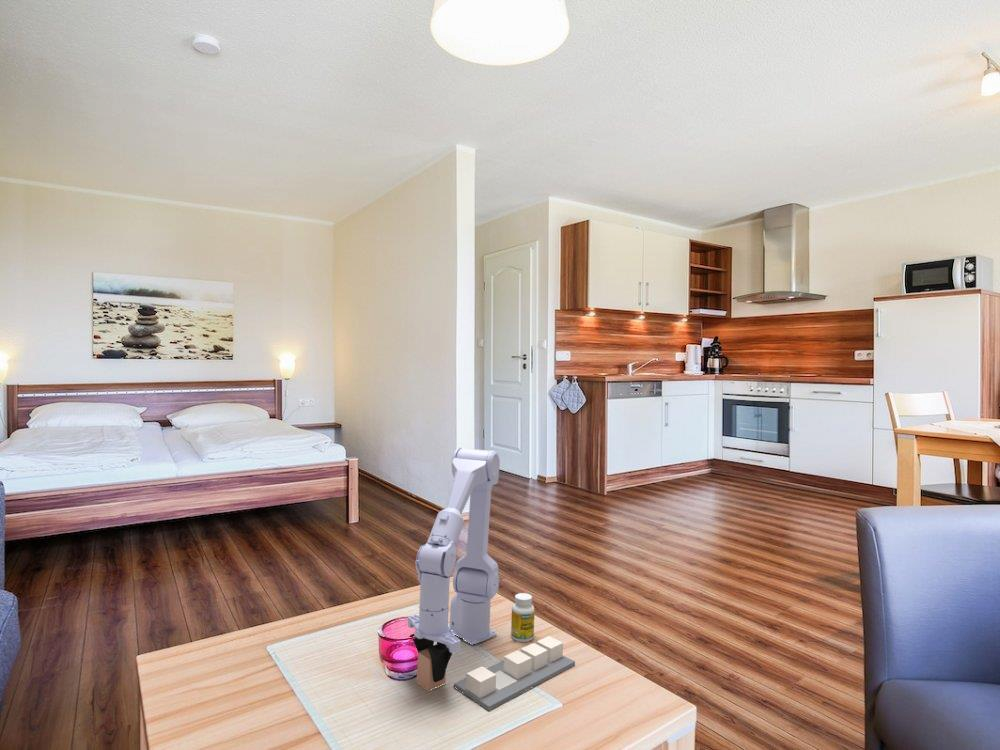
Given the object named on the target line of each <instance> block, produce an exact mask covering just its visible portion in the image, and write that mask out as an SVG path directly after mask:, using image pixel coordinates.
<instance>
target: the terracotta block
mask: <svg viewBox="0 0 1000 750" xmlns="http://www.w3.org/2000/svg"><path fill="white" fill-rule="evenodd" d="M416 671H417V672H416V683H417V685H419V686H420V687H421V688H423V687H424V690H425V691H427V692H431V691H432V690H431V689H433V688H435V687H438V686H440V685H442V684H444V683H445V684H446V681H447V678H446V677H447V671H446V672H445V675H444V679H442V680H440V681H438V682H434V681H433V675H432V661H431V656H430V653H429V651H428V648H427V649H425V650H422V651H420V652H418V662H417V670H416ZM442 686H443V685H442ZM440 687H441V686H440ZM438 688H439V687H438ZM430 690H431V691H430Z"/></svg>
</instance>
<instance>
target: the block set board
mask: <svg viewBox="0 0 1000 750" xmlns="http://www.w3.org/2000/svg"><path fill="white" fill-rule="evenodd" d="M575 665H576V661H575V660H573V659H571V658H569V657H567V656H566V655H564V642H562V641H560V640H559V639H556V638H554V637H552V636H550V635H548V636H545V637H544V638H541V639H539V640H537V641H536V642H533V643H530V644H528V645H526V646H524V647H522V648H520V650H515V651H513V652H511V653H509V654H506V655H504V656H503V660H501V661H499V662H497V663H495V664H492V665H491V666H489V667H487V668H486V667H484V666H479V667H478V668H475V669H473V670H471V671H469V672H467V673H466V677H464V678H463V679H461V680H458V681H456V682H454V683H453V688H454V687H456V688H457V689H458V690H457V689H456V688H455V689H456V690H457V691H458V692H460V691H461V692H463V693H464V694H465V695H464V694H463V693H462V694H463V695H464V696H466V695H467V696H468V697H467V696H466V697H467V698H469V697H470V698H471V699H470V698H469V699H470V700H472V699H473V700H474V702H475V701H476V702H477V703H476V702H475V703H476V704H478V703H479V704H480V705H479V704H478V705H479V706H480V707H482V706H483V707H482V708H483V709H484V710H486V711H488V712H490V711H492V710H493V708H494V709H495V707H496V708H498V707H499V706H501V705H503V704H505V703H507V702H509V701H510V700H512V699H514V698H516V697H518V696H519V695H522V694H523V692H524V693H526V692H527V691H529V690H531V689H532V688H531V687H533V688H535V687H537V686H539V685H540V684H543V683H545V682H547V681H548V680H550V679H552V678H553V677H555V676H558V675H559V674H561V673H563V672H565V671H567V670H569V669H570V668H573V667H575ZM534 686H535V687H534ZM530 688H531V689H530ZM528 689H529V690H528ZM526 690H527V691H526ZM525 691H526V692H525ZM461 692H460V693H461ZM473 700H472V701H473Z"/></svg>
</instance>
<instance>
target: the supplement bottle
mask: <svg viewBox="0 0 1000 750" xmlns="http://www.w3.org/2000/svg"><path fill="white" fill-rule="evenodd" d="M514 602H515V603H513V604H512V605H511V606H512V607H511V622H510V623H511V626H510V627H511V628H510V631H511V633H510V636H511V638H512V639H513V640H514V641H515V642H519V643H520V642H521V643H524V642H525V643H526V642H530V641H532V640H533V639H534V636H535V635H534V632H535V612H536V611H535V609H536V608H535V606H534V605H533V604H532V603H533V596H532V595H531V594H529V593H525V592H519V593H516V594H515V595H514Z"/></svg>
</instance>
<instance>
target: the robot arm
mask: <svg viewBox="0 0 1000 750" xmlns="http://www.w3.org/2000/svg"><path fill="white" fill-rule="evenodd" d="M450 462H451V463H450V464H451V472H452V477H453V479H452V482H451V483H452V484H451V487H450V491H449V494H448V499H447V501H446V504H445V508H444V509H442V510H440V511H439V512H437V515H436V518H435V520H434V523H433V526H432V528H431V532H430V534H429V537H428V539H427V542H426V543H425V544H423V545H421V546H420V547H419V549H418V551H417V554H416V557H415V559H416V560H415V562H414V564H415V570H416V572H417V581H418V582H419V612H418V614H414V615H411V616H408V617H407V627H408V628H410V629H411V628H413V629H414V630H415V632H414V633H411V634H410V635H409V636H408V637H413V636H415V637H417V638H415V639H413V641H414V643H415V645H416V648H417V650H418V652H420V651H422V650H425V649H427V648H428V651H429V653H430V656H431V661H432V675H433V681H434V682H438V681H440V680H442V679H444V675H445V672H446V673H447V668H448V666H449V662H450V659H451V658H452V656H453V654H455V653H457V652H459V651H461V643H462V642H461V641H462V639H460V638H459V637H461V638H464V640H466V641H468V642H469V643H471V644H475V645H477V644H479V643H481V642H484V641H487V640H489V639H491V638H493V637H496V636H498V632H496V631H495V630H492V629H490V628H491V627H490V626H491V624H490V623H491V622H490V621H491V602H492V601H491V600H493V599H494V597H495V596H496V595H497V593H498V591H499V585H500V576H499V564H498V563H497V561H496V560H494V559H493V558H492V557H491V556H490V555H489V554H488V548H489V547H488V546H489V530H490V517H491V516H490V515H491V502H492V501H491V500H492V498H491V497H492V489H493V486H494V485H498V484H499V479H500V466H501V465H500V463H501V461H500V456H499V454H498V453H497V451H496V450H494V449H493V450H483V449H473V448H472V449H471V448H463V447H457V448H456V449H455V450H454V452H453V453H452V456H451V461H450ZM468 500H469V508H468V509H469V512H468V526H467V527H468V528H467V538H466V539H467V540H466V542H467V543H466V554H464V555H463V556H461V557H460V558H459V559H458V560H457V553H458V547H457V544H458V541H459V538H460V535H461V532H462V530H463V527H464V524H465V523H464V522H465V520H464V517H463V516H462V513H463V511H464V509H465V507H466V505H467V503H468ZM456 560H457V561H456ZM453 571H454V573H453ZM452 573H453V577H452V588H453V590H454V592H455V594H454V595H453V596H452V599H451V600H450V582H451V575H452ZM449 602H450V603H449ZM449 605H450V606H449ZM449 607H450V611H449ZM451 630H453V631H451ZM453 633H454V634H456V635H458V636H459V637H457V636H455V635H454V634H453ZM464 640H463V641H464ZM466 641H465V642H466ZM435 642H436V643H435ZM469 643H468V644H469ZM471 644H470V645H471Z"/></svg>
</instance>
